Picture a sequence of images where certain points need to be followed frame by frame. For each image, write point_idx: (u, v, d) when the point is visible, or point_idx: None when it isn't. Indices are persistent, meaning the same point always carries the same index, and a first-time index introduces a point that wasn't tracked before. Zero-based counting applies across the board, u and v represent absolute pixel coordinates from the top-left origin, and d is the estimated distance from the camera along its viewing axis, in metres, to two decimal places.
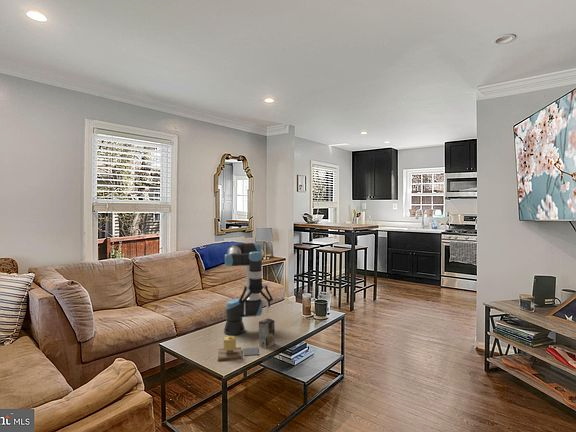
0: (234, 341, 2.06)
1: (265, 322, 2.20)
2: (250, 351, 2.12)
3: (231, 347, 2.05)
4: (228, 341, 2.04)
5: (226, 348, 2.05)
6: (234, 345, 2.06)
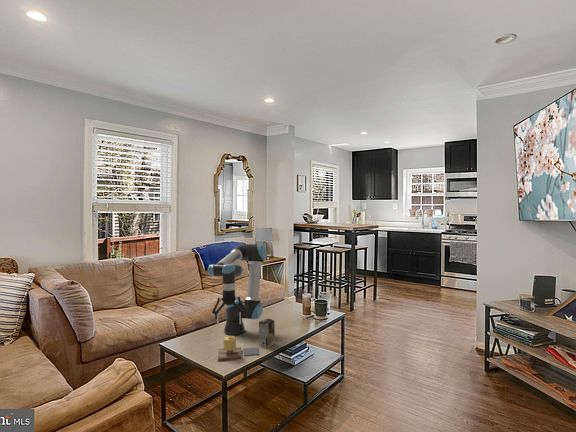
0: (234, 341, 2.06)
1: (265, 322, 2.20)
2: (250, 351, 2.12)
3: (231, 347, 2.05)
4: (228, 341, 2.04)
5: (226, 348, 2.05)
6: (234, 345, 2.06)
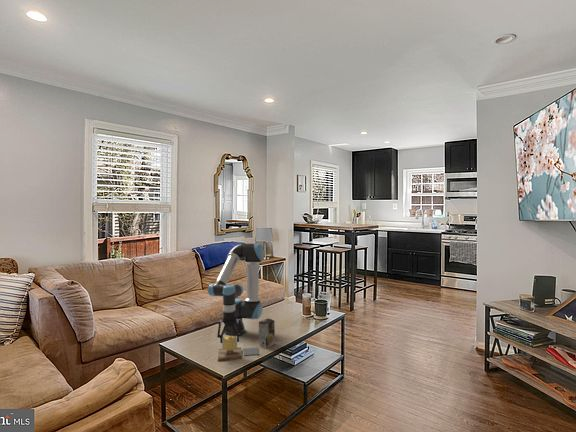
0: (234, 341, 2.06)
1: (265, 322, 2.20)
2: (250, 351, 2.12)
3: (231, 347, 2.05)
4: (228, 341, 2.04)
5: (226, 348, 2.05)
6: (234, 345, 2.06)
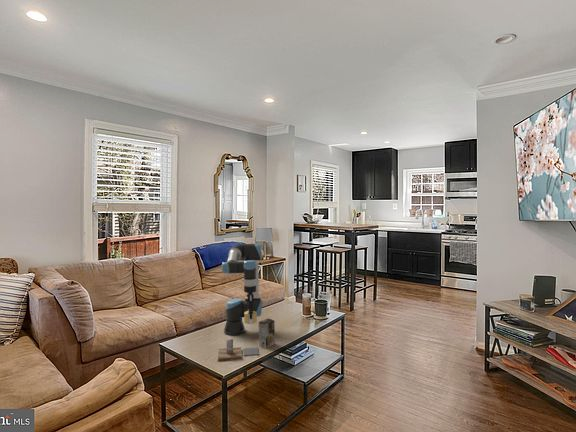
0: (246, 316, 2.09)
1: (265, 322, 2.20)
2: (250, 351, 2.12)
3: None
4: None
5: None
6: (246, 320, 2.09)
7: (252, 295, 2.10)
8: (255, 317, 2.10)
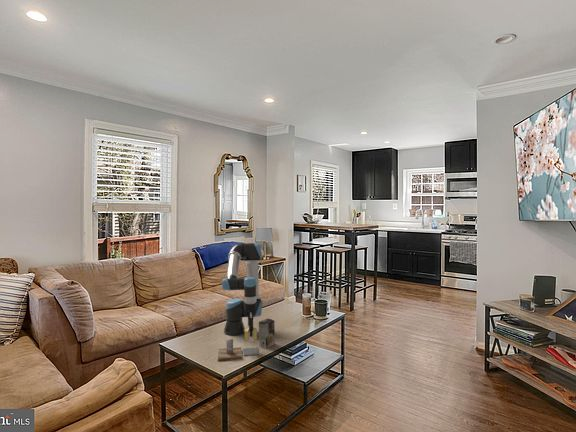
0: (247, 333, 2.09)
1: (265, 322, 2.20)
2: (250, 351, 2.12)
3: None
4: None
5: None
6: (247, 337, 2.09)
7: None
8: (255, 334, 2.10)
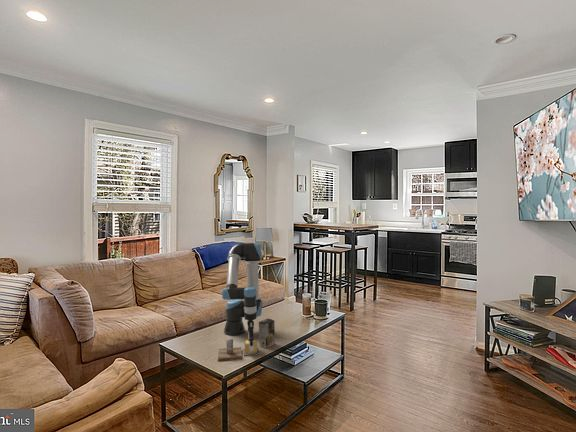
0: (247, 345, 2.09)
1: (265, 322, 2.20)
2: None
3: (245, 349, 2.11)
4: None
5: None
6: (247, 349, 2.09)
7: (252, 322, 2.11)
8: (255, 346, 2.11)
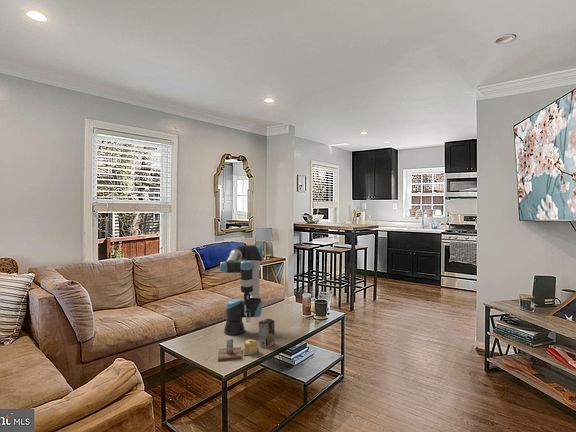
0: (247, 345, 2.09)
1: (265, 322, 2.20)
2: None
3: (245, 349, 2.11)
4: None
5: None
6: (247, 349, 2.09)
7: (249, 295, 2.14)
8: (255, 346, 2.11)
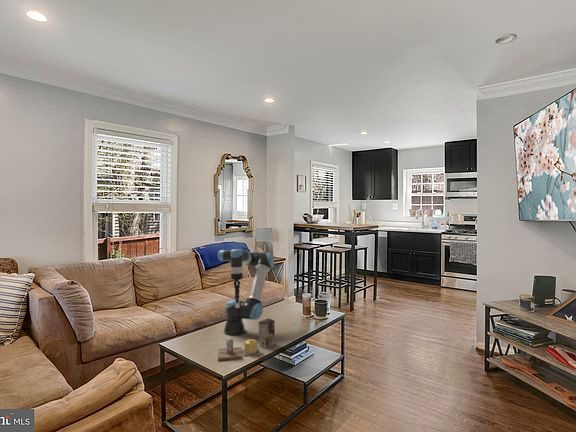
0: (247, 345, 2.09)
1: (265, 322, 2.20)
2: None
3: (245, 349, 2.11)
4: None
5: None
6: (247, 349, 2.09)
7: (238, 282, 2.22)
8: (255, 346, 2.11)
